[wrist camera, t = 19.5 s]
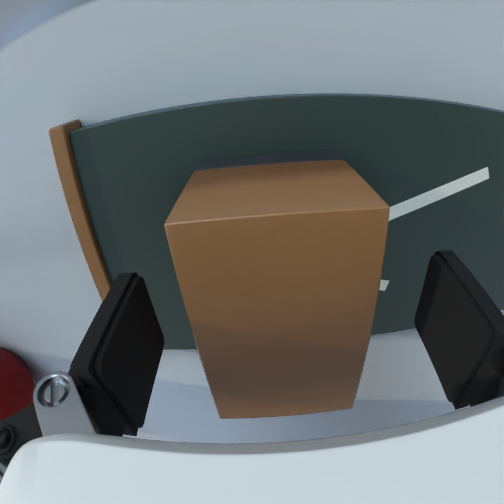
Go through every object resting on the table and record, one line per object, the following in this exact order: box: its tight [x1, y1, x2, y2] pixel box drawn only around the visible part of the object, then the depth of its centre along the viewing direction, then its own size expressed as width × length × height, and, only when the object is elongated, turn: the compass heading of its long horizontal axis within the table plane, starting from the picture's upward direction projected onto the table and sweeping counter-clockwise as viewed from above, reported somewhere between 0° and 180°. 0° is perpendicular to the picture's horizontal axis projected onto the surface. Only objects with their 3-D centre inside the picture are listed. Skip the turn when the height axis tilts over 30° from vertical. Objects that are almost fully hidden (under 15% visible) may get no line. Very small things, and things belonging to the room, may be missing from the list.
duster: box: [164, 150, 390, 419], centre depth 11 cm, size 8×5×6 cm, turn 5°
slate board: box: [49, 94, 504, 349], centre depth 14 cm, size 13×25×2 cm, turn 95°
